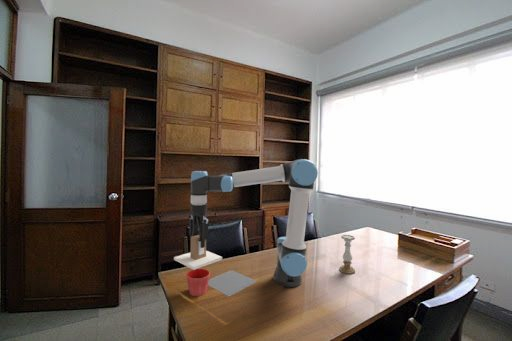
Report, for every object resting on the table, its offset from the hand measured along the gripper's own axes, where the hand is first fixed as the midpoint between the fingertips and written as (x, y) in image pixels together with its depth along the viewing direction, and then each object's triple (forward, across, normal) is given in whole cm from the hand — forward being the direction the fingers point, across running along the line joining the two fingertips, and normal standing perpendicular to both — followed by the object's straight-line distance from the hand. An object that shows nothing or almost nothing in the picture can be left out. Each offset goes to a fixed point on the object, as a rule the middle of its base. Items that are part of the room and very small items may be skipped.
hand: (198, 252), depth 116 cm
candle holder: (+20, -43, -74) cm, 88 cm away
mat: (+19, -4, -17) cm, 26 cm away
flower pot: (+20, 0, 0) cm, 20 cm away
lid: (+3, 0, 0) cm, 3 cm away
